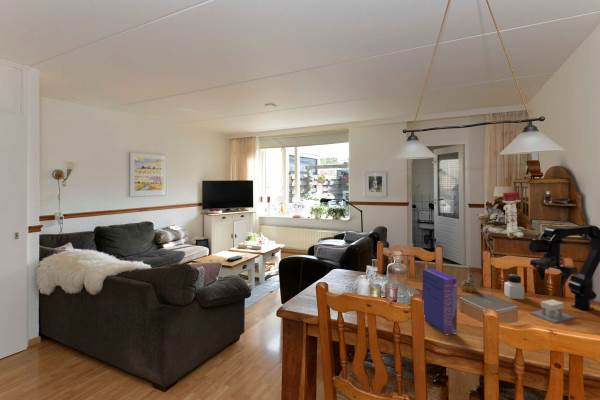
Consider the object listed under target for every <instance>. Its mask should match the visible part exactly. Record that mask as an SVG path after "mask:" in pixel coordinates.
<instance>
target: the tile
mask: <svg viewBox="0 0 600 400" xmlns="http://www.w3.org/2000/svg"><path fill="white" fill-rule="evenodd" d="M529 314H530V315H532V316H534V317H538V318H540V319H543V320H546V321H548V322H551V323H553V324H557V323H561V322H565V321H569V320H573V319H574V320H575V319H576V317H575V316H573V315H570V314H568V313H564V312H562V316H560V315H559V310H555V313H553V318H551V317H549V310H548V309H545V315H543V314H542V309H539V310H534V311H530V312H529Z"/></svg>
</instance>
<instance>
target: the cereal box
mask: <svg viewBox="0 0 600 400" xmlns="http://www.w3.org/2000/svg"><path fill="white" fill-rule="evenodd" d="M423 300H424V315H425V320H424V321H426V322H427V323H428V324H430V325H431V324H432V325H431V326H433V327H434V326H435V327H434V328H435V329H437V328H438V329H439V330H438V329H437V330H438V331H440V330H441V331H442V334H444V333H445V334H454V333H457V329H458V328H457V327H458V325H457V322H458V319H457V318H458V315H457V314H458V278H456V277H453V276H451V275H448V274H447V273H444V272H442V271H439V270H437V269H434V268H432V267H431V268H429V267H427V268H422V301H423ZM441 331H440V332H441ZM445 334H444V335H445ZM454 335H455V334H454Z"/></svg>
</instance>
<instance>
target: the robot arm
mask: <svg viewBox="0 0 600 400" xmlns="http://www.w3.org/2000/svg"><path fill="white" fill-rule="evenodd" d="M580 235H587V237H588V238H589V240H590V242H589V243H590V251H589V253H588V254H587V256H586V258H585V259H584V263H583V265H582V267H581V268H580V271H579V272H578V268H577V267H576V266H572V265H564V266H563V263H562V262H561V258H562V257H563V254H561V249H562V248H561V247H562V245H564V244H565V245H566V242H565V241H564V240H563V239H566V238H568V237H570V236H580ZM528 249H529V251H530V252H531V253H533V254H534V253H535V254H536V253H541V254H543V257H541V258H534V259H530V261H529V265H530V266H532V267H533V268H534V269H535V270H536V271H537V273H538V275H539V276H538V277H539V278H540V280H541V281H544V279H545V275H546V270H549V269H550V268H551V269H555V270H559V271H560V272H559V274H560V276H561V278H560V286H561V287H564V285H565V284H566V282H567V283H568V284H567V287H568V288H569V290H570V293H571V294H573V295H575V297H574V304H572V305H571V307H573V308H576V309H579V310H581V311H585V312H587V311H591V310H594V309H595V308H594V307H592V306H591V300H594V299H596V297H597V293H596V292H595V291H594V290H593V289H592V287H593V282H592V278H593V276H594V274H595V272H596V270H597V268H598V266H599V264H600V228H599V227H598V226H596V225H594V224H584V225H577V226H567V227H566V226H565V227H560V226H558V227H557V226H547V227H545V228H544V230H543V231H542V233H541V234H540V236H539V237H538V238H532V239H531V241H530V242H529V244H528ZM576 274H577V275H576Z"/></svg>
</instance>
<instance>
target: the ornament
mask: <svg viewBox="0 0 600 400" xmlns="http://www.w3.org/2000/svg"><path fill="white" fill-rule="evenodd" d="M460 288H461V291H463V292H465V293H466V292H467V293H470V294H471V293H472V294H474V293H476V292H477V291H478V285H477V284H476V281H475V278H474V277H473V275H472V274H469V276H468V278H467V279H464V280H463V281H462V282H461V287H460Z"/></svg>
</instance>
